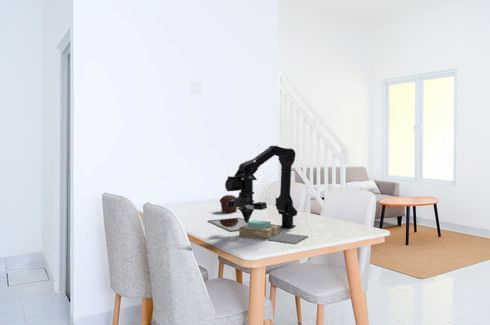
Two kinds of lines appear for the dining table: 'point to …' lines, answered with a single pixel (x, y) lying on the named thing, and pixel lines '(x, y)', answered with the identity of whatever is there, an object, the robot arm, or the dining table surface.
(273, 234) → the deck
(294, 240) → the mat
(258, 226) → the teal rectangular block
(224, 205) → the muffin
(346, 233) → the dining table surface
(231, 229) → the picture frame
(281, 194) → the robot arm
